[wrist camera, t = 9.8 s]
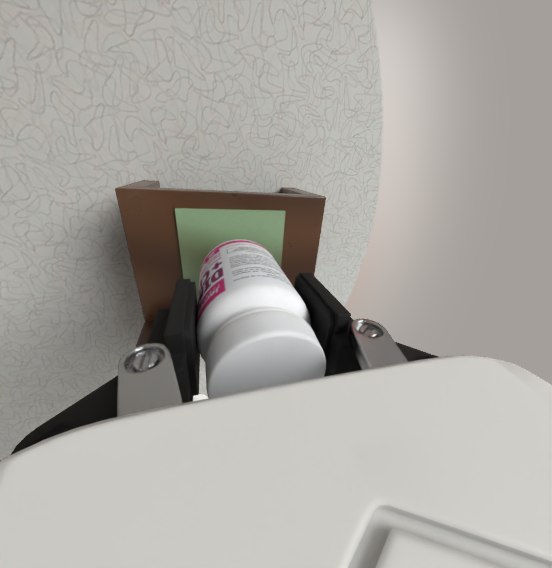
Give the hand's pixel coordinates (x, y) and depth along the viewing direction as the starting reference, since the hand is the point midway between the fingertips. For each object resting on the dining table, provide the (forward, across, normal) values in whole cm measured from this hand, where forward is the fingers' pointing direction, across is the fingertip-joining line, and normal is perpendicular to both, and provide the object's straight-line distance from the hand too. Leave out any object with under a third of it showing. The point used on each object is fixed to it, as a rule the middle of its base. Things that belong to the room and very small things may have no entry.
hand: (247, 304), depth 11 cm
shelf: (+13, 0, 0) cm, 13 cm away
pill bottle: (+4, 0, 0) cm, 4 cm away
